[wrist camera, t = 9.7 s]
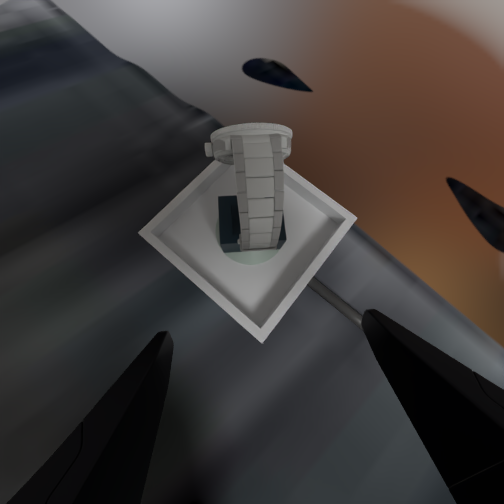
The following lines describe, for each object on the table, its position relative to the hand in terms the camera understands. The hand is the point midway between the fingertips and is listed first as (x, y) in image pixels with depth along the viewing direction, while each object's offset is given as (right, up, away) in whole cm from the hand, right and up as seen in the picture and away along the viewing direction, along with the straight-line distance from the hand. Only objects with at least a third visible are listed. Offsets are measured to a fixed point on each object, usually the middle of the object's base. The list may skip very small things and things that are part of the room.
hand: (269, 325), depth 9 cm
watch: (-1, +6, +11) cm, 12 cm away
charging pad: (+4, +1, +11) cm, 12 cm away
